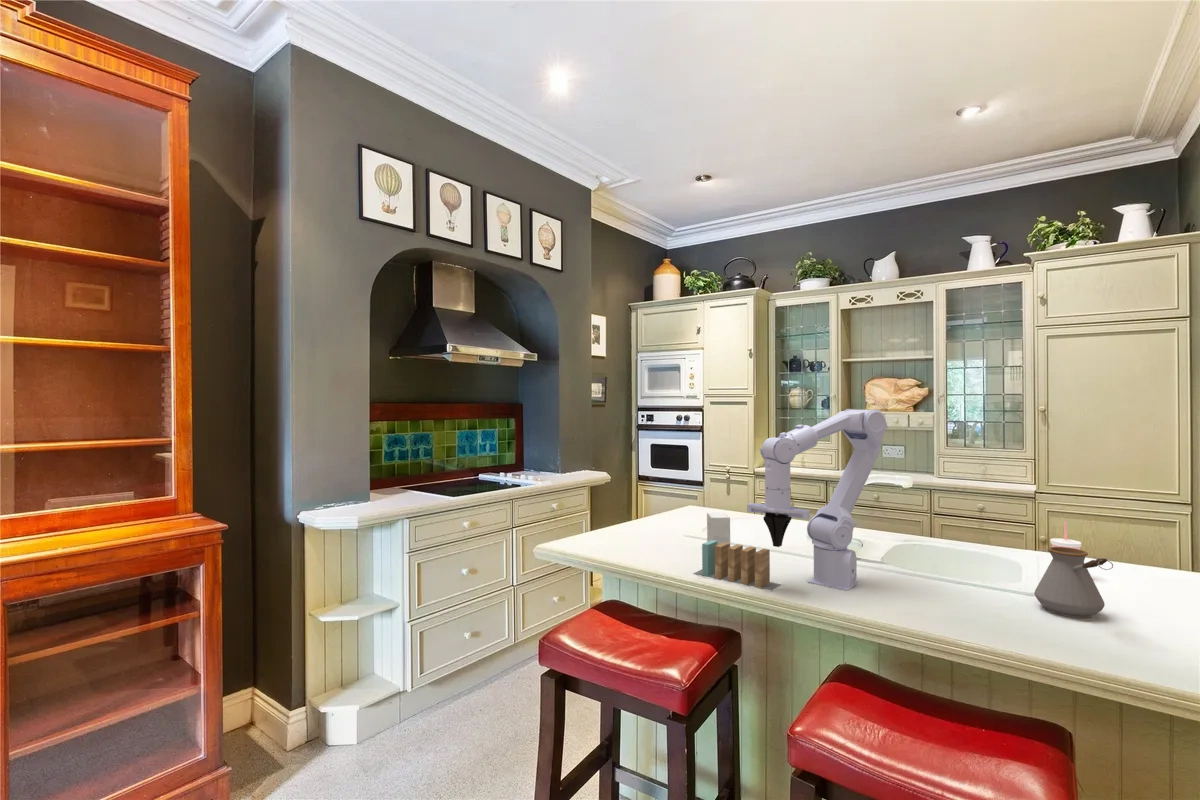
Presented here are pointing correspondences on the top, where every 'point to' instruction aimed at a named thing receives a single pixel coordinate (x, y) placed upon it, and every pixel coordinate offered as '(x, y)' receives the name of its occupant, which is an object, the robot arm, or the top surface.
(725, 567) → the domino
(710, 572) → the teal domino
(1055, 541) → the beverage cup
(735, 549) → the domino
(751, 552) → the domino
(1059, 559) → the coffee pot
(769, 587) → the mat
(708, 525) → the small box
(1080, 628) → the top surface
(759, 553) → the domino
